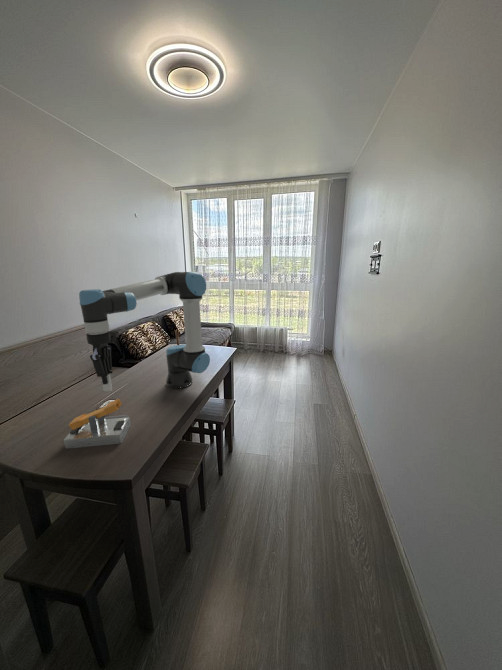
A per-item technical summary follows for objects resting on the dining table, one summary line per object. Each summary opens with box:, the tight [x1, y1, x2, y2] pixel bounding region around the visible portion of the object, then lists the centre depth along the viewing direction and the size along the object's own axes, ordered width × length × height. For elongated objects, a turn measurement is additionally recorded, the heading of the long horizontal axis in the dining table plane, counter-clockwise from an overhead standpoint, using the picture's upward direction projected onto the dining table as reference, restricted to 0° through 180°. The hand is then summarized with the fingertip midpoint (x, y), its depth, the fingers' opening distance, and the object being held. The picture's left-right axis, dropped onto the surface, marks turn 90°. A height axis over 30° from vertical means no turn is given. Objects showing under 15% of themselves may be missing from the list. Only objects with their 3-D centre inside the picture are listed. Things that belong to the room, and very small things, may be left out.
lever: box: [68, 398, 123, 431], centre depth 101 cm, size 19×5×3 cm, turn 99°
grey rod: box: [97, 414, 129, 420], centre depth 113 cm, size 15×2×2 cm, turn 98°
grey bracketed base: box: [63, 406, 132, 450], centre depth 102 cm, size 20×12×11 cm, turn 98°
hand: (108, 390), depth 99 cm, fingers closed
